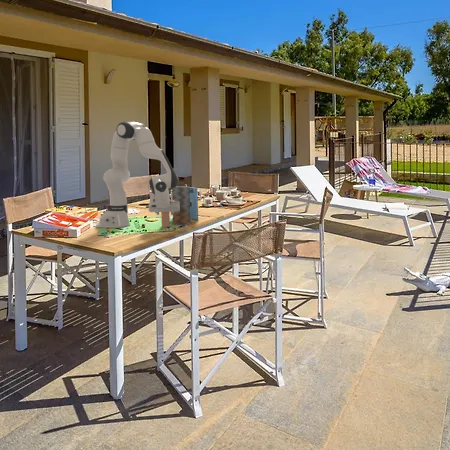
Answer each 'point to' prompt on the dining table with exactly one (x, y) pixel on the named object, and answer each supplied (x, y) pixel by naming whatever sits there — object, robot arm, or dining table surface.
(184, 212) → the wall board with cleat
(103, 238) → the dining table surface
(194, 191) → the gum box
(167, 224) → the salmon brown rectangular block
